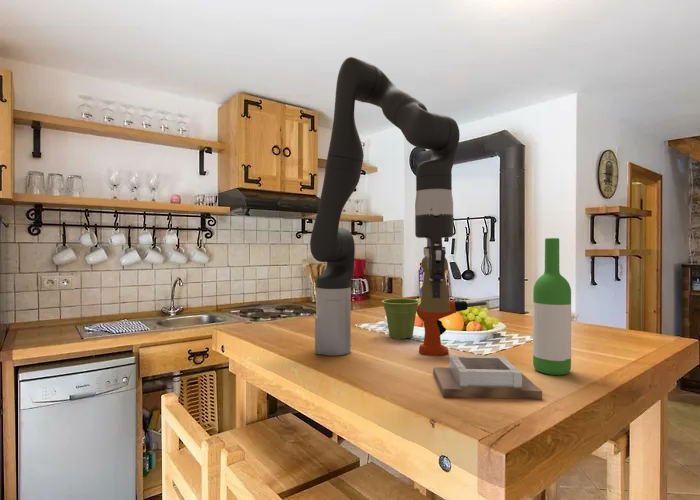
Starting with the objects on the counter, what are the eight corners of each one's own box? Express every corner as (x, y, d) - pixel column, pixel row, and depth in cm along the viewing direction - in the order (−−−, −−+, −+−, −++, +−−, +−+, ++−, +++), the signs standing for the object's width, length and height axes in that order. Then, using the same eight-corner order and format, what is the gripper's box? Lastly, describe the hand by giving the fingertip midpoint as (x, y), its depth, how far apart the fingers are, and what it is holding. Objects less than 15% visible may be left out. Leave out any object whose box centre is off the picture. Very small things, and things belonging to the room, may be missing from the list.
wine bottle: (578, 372, 93) (578, 238, 92) (558, 378, 89) (558, 237, 88) (545, 364, 99) (546, 238, 99) (525, 369, 95) (525, 238, 95)
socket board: (443, 396, 78) (443, 388, 78) (433, 374, 92) (433, 367, 92) (542, 399, 77) (542, 391, 77) (516, 375, 91) (516, 368, 91)
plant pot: (378, 333, 135) (378, 298, 135) (414, 332, 136) (414, 298, 136) (385, 341, 123) (385, 303, 123) (424, 340, 125) (424, 303, 125)
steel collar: (460, 387, 79) (460, 371, 79) (449, 368, 90) (449, 355, 90) (521, 388, 78) (521, 372, 78) (502, 370, 90) (502, 356, 90)
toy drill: (494, 351, 105) (486, 293, 106) (419, 358, 108) (412, 301, 108) (490, 347, 110) (483, 291, 110) (419, 353, 113) (412, 298, 113)
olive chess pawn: (444, 313, 79) (443, 255, 79) (414, 311, 83) (414, 255, 83) (454, 309, 84) (454, 255, 84) (426, 307, 88) (426, 255, 88)
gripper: (412, 216, 91) (413, 295, 91) (417, 210, 77) (418, 304, 77) (447, 216, 90) (448, 295, 90) (459, 210, 76) (460, 304, 76)
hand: (434, 299), depth 84 cm, fingers closed on olive chess pawn, 3 cm apart
